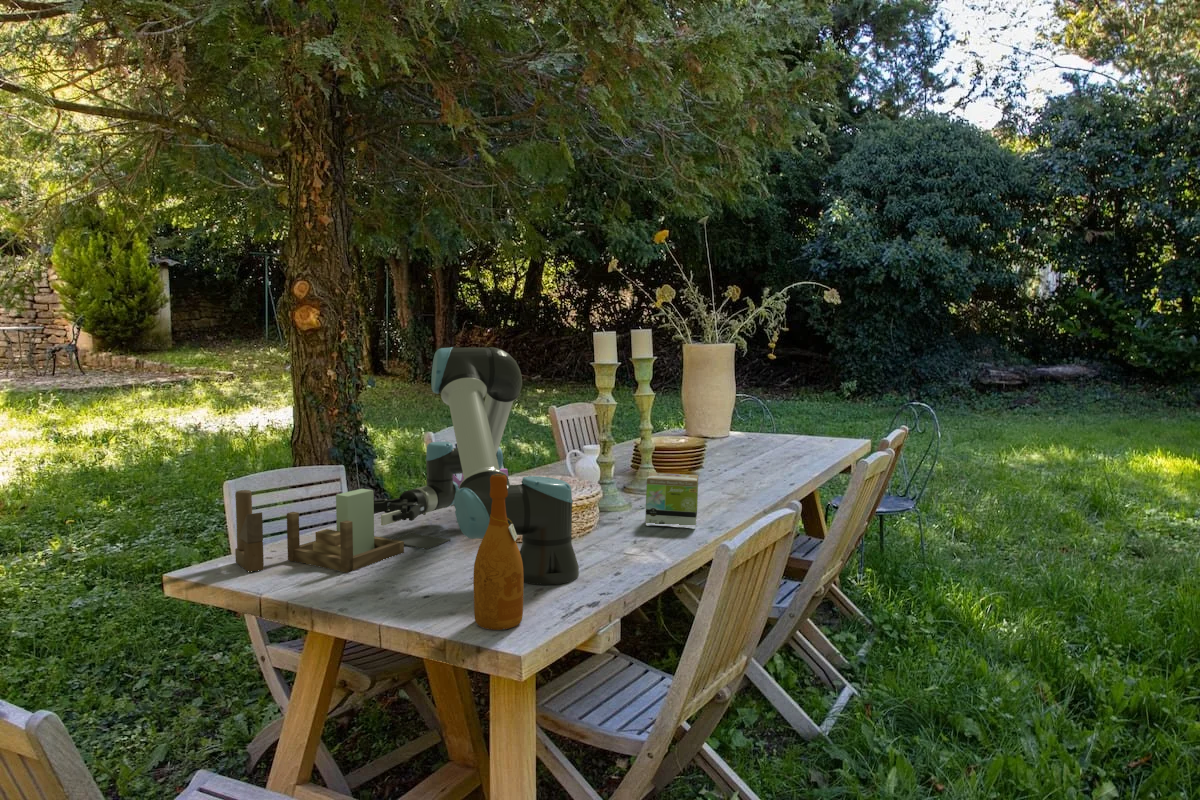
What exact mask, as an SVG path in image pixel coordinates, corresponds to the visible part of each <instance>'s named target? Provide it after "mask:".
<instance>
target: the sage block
mask: <svg viewBox="0 0 1200 800" xmlns="http://www.w3.org/2000/svg"><path fill="white" fill-rule="evenodd" d="M374 492H375V491H374V490H373V489H367V488H360V489H359V488H358V489H354V490H350V491H345V492H343V493H337V494H335V510H336V511H335V512H336V513H335V514H336V518H335V519H336V521H335V522H336V531H340V522H342V521H346V520H347V521H352V525H353V556H354V555H357V554H360V553H363V552H366V551H369V550H372V549H374V536H375V512H374V500H375V499H374V498H375V497H374Z"/></svg>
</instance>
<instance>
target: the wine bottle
mask: <svg viewBox="0 0 1200 800" xmlns="http://www.w3.org/2000/svg"><path fill="white" fill-rule="evenodd" d="M507 496H508V491H507V477H506V476H505V475H503V474H494V475H492V476H491V477H490V497H491V498H492V506H491V514H490V521H489V525H488V528H487V530H486V533H485V535H484V537H483V539H481V542H480V544H479V547H478V550H477V553H476V556H475V560H474V565H473V611H474V612H473V613H474V614H473V616H474V621H475V623H476V624H477V626H479V627H481V628H483V629H486V630H491V631H503V629H504V630H508V629H512V628H515V627H516V626H518V625H520V623H521V622H522V620H523V614H524V584H525V582H524V575H523V563H522V558H521V554H520V549H519V546H518V543H517V542H516V540H517V539H518V537H519V536H518V535H517V534H516V531H515V528H514V526H513V524H511V525H509V524H508V521H507V519H508V518H507V515H506V507H505V498H506V497H507ZM511 523H512V522H511Z"/></svg>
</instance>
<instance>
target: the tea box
mask: <svg viewBox="0 0 1200 800" xmlns="http://www.w3.org/2000/svg"><path fill="white" fill-rule="evenodd" d="M645 493H646V494H645V523H655V524H679V525H697V521H696V519H697V520H698V497H699V494H698V493H699V475H698V474H685V473H684V474H682V473H681V474H680V473H663V472H662V473H661V472H649V475H648V476H647V478H646V491H645Z"/></svg>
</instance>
